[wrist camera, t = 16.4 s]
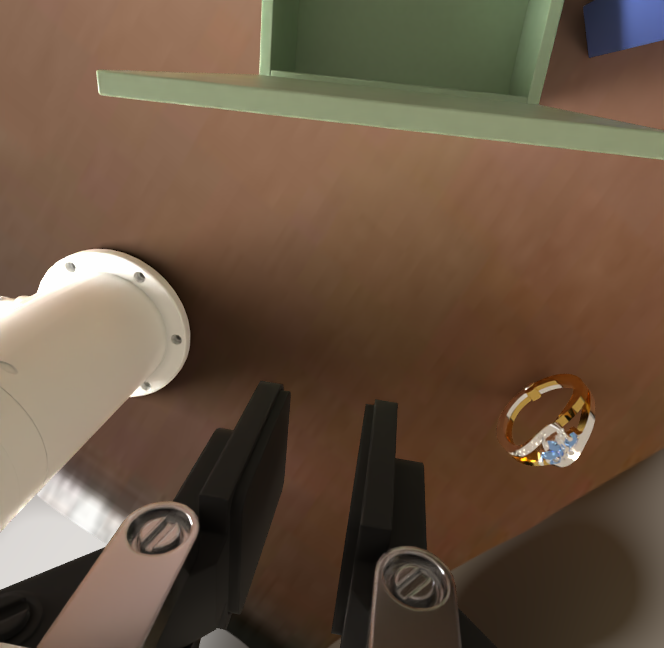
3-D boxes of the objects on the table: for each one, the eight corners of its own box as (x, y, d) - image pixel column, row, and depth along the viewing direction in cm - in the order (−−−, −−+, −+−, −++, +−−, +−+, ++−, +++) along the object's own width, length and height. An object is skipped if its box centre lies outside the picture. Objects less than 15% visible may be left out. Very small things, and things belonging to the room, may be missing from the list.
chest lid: (94, 69, 13) (97, 95, 13) (684, 134, 12) (673, 161, 12) (257, 74, 26) (256, 87, 26) (540, 105, 25) (537, 118, 25)
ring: (560, 347, 37) (597, 408, 30) (584, 378, 38) (626, 445, 30) (479, 396, 39) (494, 463, 32) (503, 424, 40) (524, 496, 33)
